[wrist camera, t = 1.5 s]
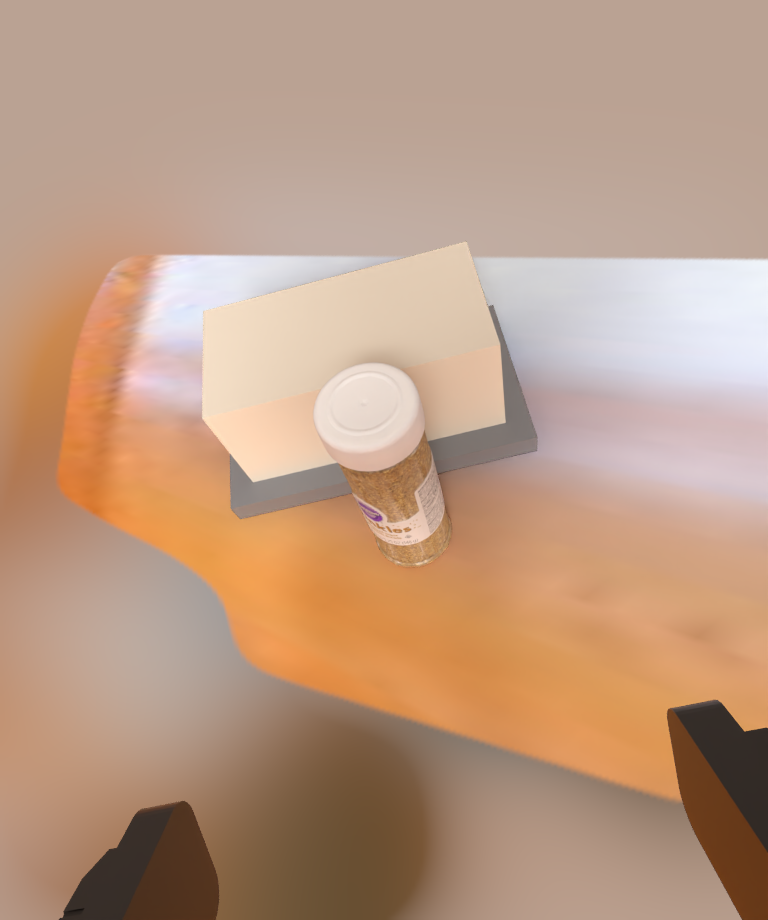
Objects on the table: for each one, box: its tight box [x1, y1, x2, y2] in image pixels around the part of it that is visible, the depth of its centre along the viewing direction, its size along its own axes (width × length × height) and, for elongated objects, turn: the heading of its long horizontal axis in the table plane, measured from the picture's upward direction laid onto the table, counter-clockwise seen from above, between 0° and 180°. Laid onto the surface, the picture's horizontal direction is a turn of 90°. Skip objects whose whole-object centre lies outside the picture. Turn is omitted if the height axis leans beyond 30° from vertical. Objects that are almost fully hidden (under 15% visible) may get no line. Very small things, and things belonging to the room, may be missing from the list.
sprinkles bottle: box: [313, 362, 452, 567], centre depth 31 cm, size 5×5×13 cm
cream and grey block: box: [202, 242, 537, 519], centre depth 38 cm, size 19×11×9 cm, turn 98°
